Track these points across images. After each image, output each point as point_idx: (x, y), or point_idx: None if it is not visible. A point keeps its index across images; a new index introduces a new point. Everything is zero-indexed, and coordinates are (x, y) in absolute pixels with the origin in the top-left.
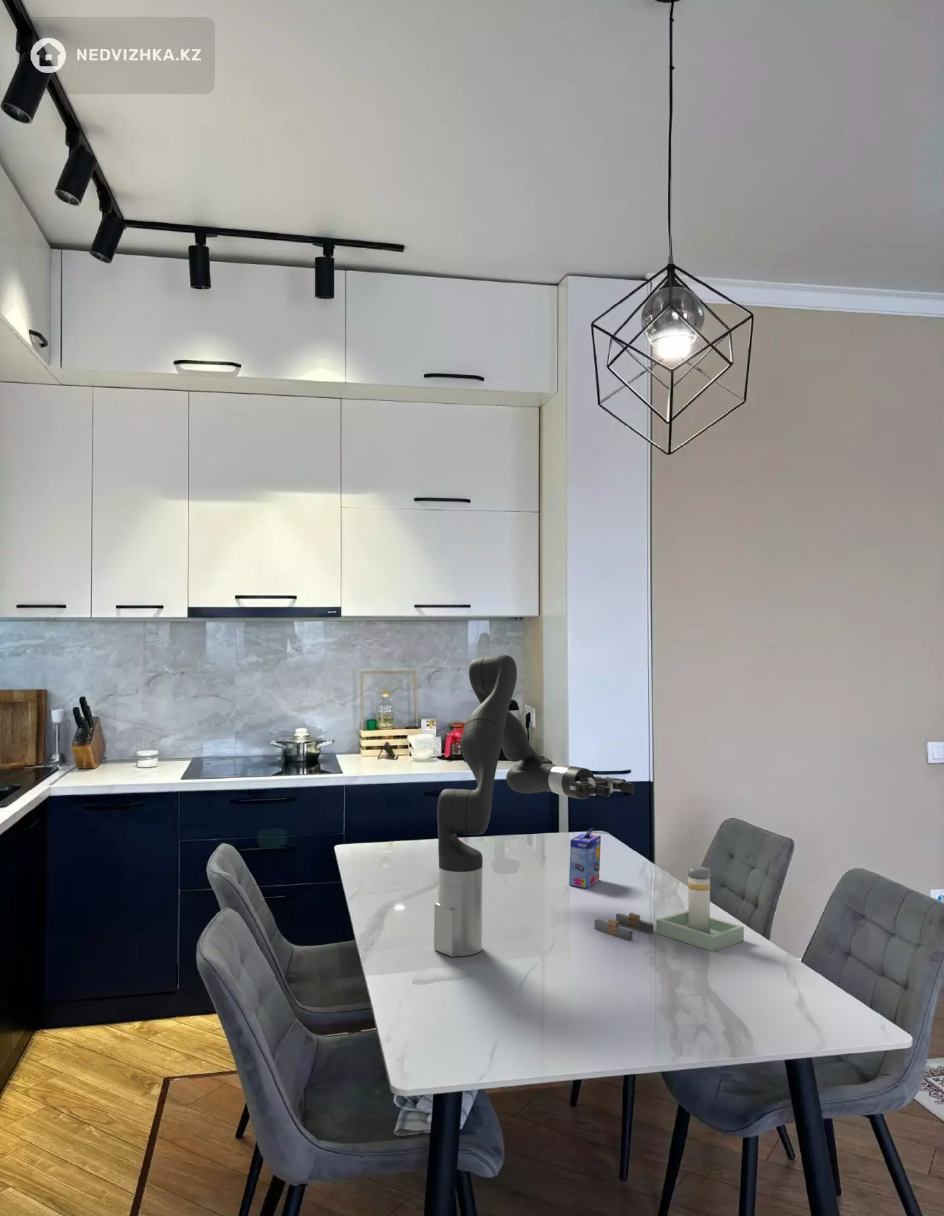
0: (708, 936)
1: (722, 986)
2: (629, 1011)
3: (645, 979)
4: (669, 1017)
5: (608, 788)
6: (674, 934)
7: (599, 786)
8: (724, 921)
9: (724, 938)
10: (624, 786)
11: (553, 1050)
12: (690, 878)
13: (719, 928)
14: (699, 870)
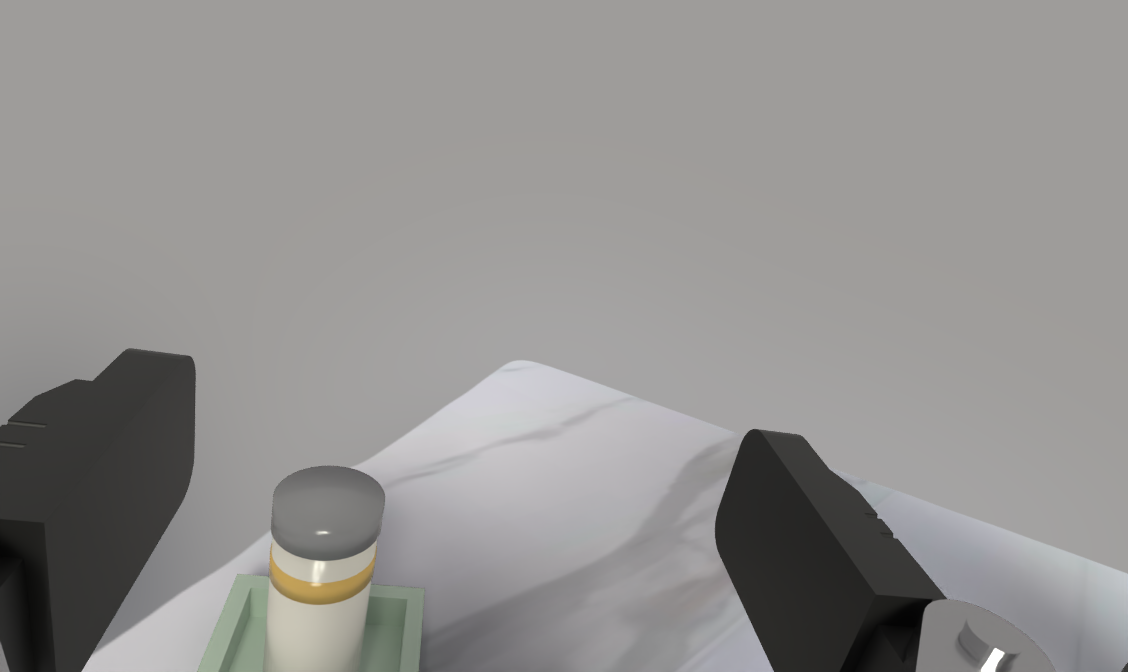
0: (423, 605)
1: (603, 527)
2: None
3: (748, 641)
4: None
5: (781, 434)
6: None
7: (883, 542)
8: (217, 634)
9: None
10: (113, 515)
11: (1060, 583)
12: (373, 543)
13: (226, 669)
14: (356, 486)
